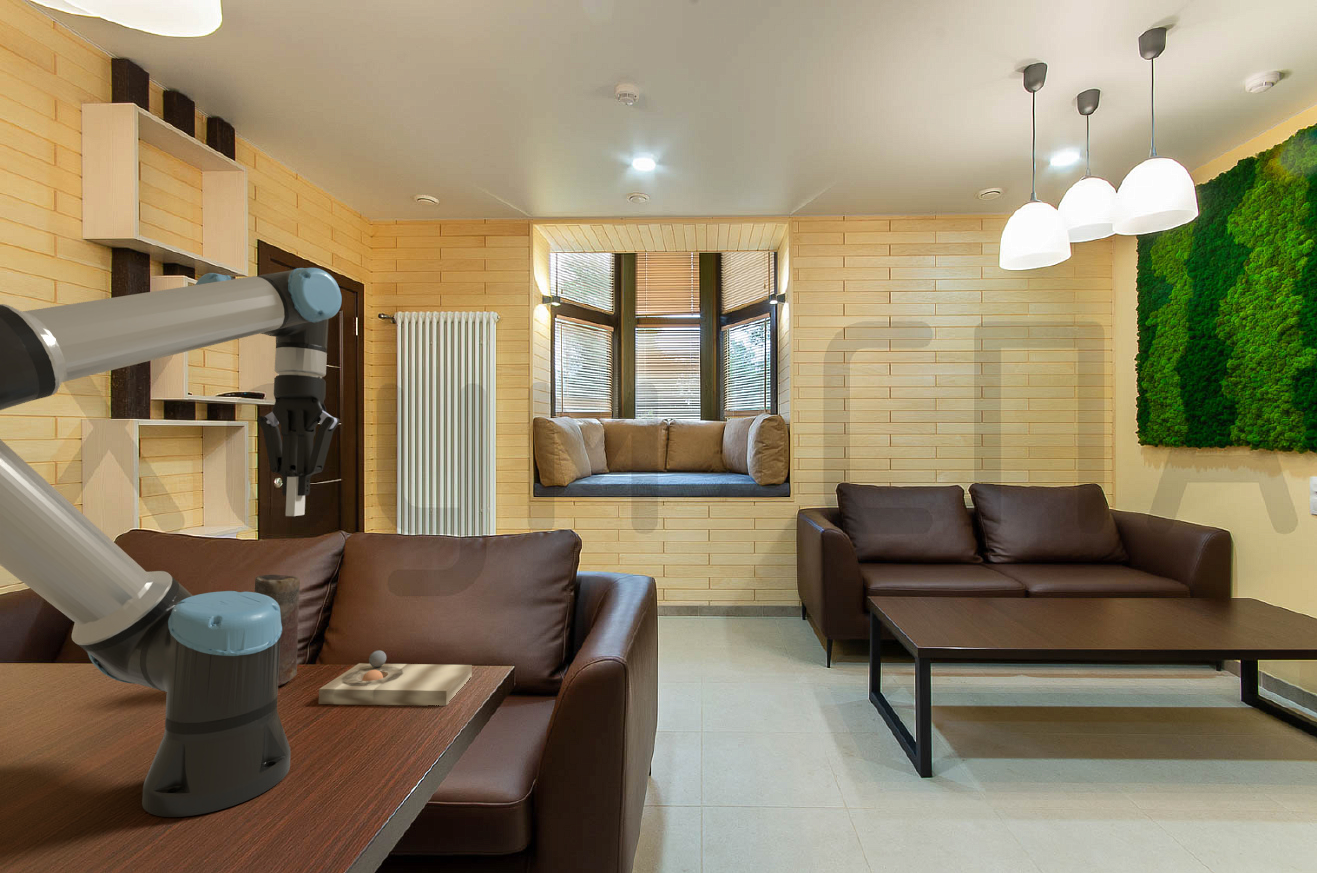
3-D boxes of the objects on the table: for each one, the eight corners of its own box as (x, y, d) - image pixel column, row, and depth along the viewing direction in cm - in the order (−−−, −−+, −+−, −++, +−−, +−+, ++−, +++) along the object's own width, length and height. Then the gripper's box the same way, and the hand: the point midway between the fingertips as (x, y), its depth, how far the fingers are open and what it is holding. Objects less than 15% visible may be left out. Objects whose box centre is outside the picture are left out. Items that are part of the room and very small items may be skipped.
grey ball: (388, 667, 111) (388, 651, 111) (371, 670, 109) (371, 654, 109) (383, 663, 113) (384, 647, 113) (366, 666, 111) (367, 650, 111)
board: (471, 678, 112) (471, 665, 112) (446, 705, 99) (446, 690, 100) (358, 676, 113) (359, 663, 113) (318, 704, 100) (319, 689, 100)
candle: (264, 677, 112) (268, 572, 113) (304, 675, 113) (308, 571, 114) (240, 692, 104) (245, 579, 105) (283, 691, 105) (288, 579, 106)
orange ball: (382, 693, 106) (388, 675, 106) (362, 694, 104) (368, 675, 104) (376, 684, 109) (382, 666, 109) (356, 685, 106) (363, 666, 106)
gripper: (350, 380, 103) (345, 514, 102) (277, 379, 103) (271, 513, 102) (325, 373, 96) (320, 517, 94) (247, 372, 96) (240, 517, 94)
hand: (295, 515), depth 98 cm, fingers closed
